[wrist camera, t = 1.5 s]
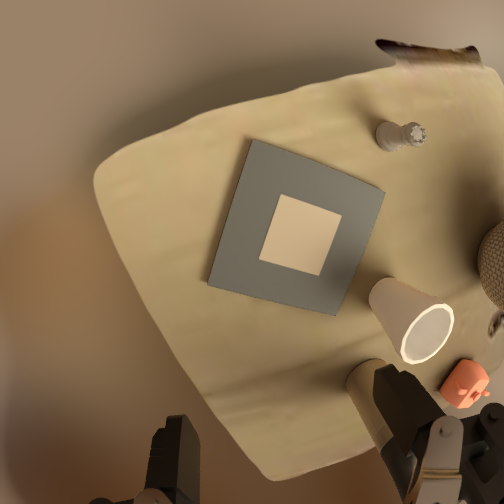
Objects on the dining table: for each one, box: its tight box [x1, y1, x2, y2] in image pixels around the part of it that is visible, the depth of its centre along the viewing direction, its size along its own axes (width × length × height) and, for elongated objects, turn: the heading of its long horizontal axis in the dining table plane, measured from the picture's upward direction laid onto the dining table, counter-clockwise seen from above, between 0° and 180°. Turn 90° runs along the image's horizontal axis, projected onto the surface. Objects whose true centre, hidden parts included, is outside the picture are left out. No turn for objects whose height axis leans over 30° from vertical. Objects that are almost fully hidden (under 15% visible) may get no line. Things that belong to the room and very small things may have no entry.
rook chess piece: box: [376, 122, 427, 152], centre depth 32 cm, size 4×4×8 cm
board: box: [207, 139, 386, 316], centre depth 38 cm, size 20×20×1 cm
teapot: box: [440, 359, 490, 408], centre depth 50 cm, size 12×18×10 cm, turn 68°
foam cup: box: [369, 278, 454, 364], centre depth 37 cm, size 10×9×13 cm
